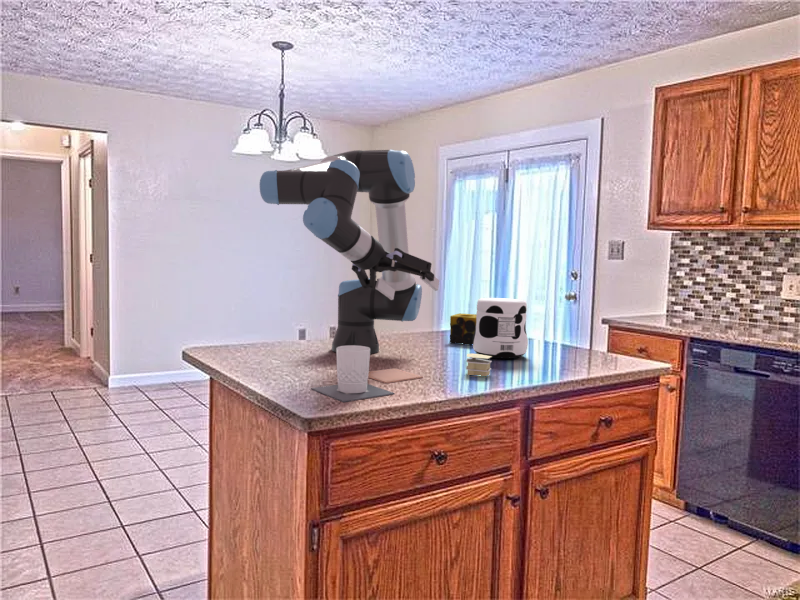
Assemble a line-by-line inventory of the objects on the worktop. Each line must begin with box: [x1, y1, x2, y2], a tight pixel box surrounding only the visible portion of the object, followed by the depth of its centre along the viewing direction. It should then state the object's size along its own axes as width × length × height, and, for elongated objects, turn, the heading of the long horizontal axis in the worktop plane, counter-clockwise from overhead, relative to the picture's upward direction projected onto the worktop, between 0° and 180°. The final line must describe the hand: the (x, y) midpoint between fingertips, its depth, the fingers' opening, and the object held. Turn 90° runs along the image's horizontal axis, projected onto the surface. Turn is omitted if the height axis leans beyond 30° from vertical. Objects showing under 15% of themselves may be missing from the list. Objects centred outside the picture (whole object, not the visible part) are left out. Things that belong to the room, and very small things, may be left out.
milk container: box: [472, 297, 529, 359], centre depth 197 cm, size 17×17×18 cm
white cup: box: [335, 345, 371, 394], centre depth 145 cm, size 8×8×10 cm
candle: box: [449, 313, 477, 345], centre depth 223 cm, size 10×10×10 cm
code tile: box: [311, 383, 395, 403], centre depth 145 cm, size 14×14×1 cm
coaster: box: [368, 367, 424, 384], centre depth 163 cm, size 12×12×1 cm
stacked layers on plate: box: [465, 353, 493, 376], centre depth 168 cm, size 10×9×6 cm
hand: (414, 290), depth 154 cm, fingers open, 13 cm apart
